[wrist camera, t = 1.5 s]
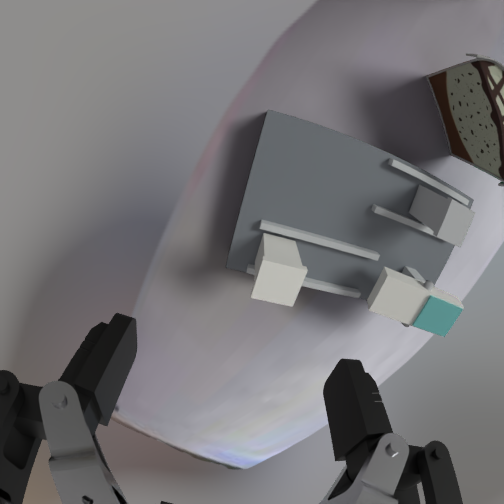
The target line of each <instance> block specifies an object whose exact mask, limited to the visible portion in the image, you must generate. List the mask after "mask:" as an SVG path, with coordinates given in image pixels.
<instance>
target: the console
mask: <svg viewBox="0 0 504 504" xmlns="http://www.w3.org/2000/svg"><path fill="white" fill-rule="evenodd" d="M419 185H421V186H423V187H425V188H427V189H429V190H431V191H433V192H435V193H437V194H439V195H441V196H443V197H444V198H446V199H448V197H449V198H451V199H453V200H455V201H457V202H458V203H460V204H462V205H463V206H465V207H467V208H468V209H470V208H471V206H472V203H473V201H474V200H473V199H472V198H470V197H468V196H467V195H465V194H464V193H462V192H461V191H459V190H457V189H456V188H454V187H452V186H451V185H449V184H447V183H446V182H444V181H442V180H440V179H439V178H437V177H435V176H433V175H431V174H430V173H428V172H426V171H424V170H422V169H420V168H418V167H416V166H414V165H413V164H411V163H409V162H407V161H405V160H402V159H400V158H398V157H396V156H394V155H392V154H390V153H388V152H386V151H383V150H381V149H379V148H377V147H374V146H372V145H370V144H367V143H365V142H363V141H360V140H358V139H355V138H353V137H350V136H348V135H345V134H343V133H340V132H337V131H335V130H332V129H329V128H326V127H323V126H321V125H318V124H315V123H312V122H309V121H306V120H302V119H299V118H296V117H293V116H289V115H286V114H283V113H279V112H276V111H272V110H268V111H267V113H266V117H265V120H264V124H263V127H262V131H261V134H260V138H259V141H258V145H257V148H256V152H255V156H254V159H253V163H252V167H251V170H250V174H249V178H248V181H247V185H246V189H245V193H244V196H243V200H242V204H241V208H240V211H239V215H238V219H237V223H236V227H235V231H234V235H233V239H232V242H231V246H230V250H229V254H228V259H227V264H226V268H230V269H234V270H238V271H242V272H246V273H248V274H252V275H255V259H256V256H257V253H258V250H259V246H260V243H261V240H262V236H263V233H267V234H270V235H274V236H278V237H282V238H286V239H290V240H294V241H296V245H297V248H298V252H299V255H300V259H301V262H302V266H306V267H307V270H308V271H307V274H306V276H305V279H304V281H303V283H302V286H304V287H308V288H313V289H317V290H322V291H326V292H331V293H336V294H340V295H345V296H349V297H354V298H361V299H366V300H367V299H368V297H369V295H370V293H371V292H372V290H373V288H374V286H375V284H376V282H377V280H378V278H379V276H380V274H381V272H382V270H383V268H384V266H385V267H387V268H390V269H392V270H395V271H397V272H399V273H402V274H404V275H407V276H409V277H412V278H414V279H416V280H419V281H421V282H424V283H425V281H426V280H429V281H431V282H432V283H433V284H434V285H435V283H436V281H437V279H438V277H439V276H440V274H441V272H442V270H443V268H444V266H445V264H446V262H447V260H448V258H449V256H450V254H451V252H452V250H453V248H454V246H455V245H454V244H451V243H449V242H447V241H444V240H442V239H440V238H438V237H436V236H435V235H433V233H434V231H433V230H431V229H430V228H429V227H427V226H426V225H425V224H423V223H422V222H421V221H419V220H418V219H417V218H415V217H414V216H413V215H411V214H410V213H409V211H410V208H411V206H412V203H413V200H414V198H415V195H416V193H417V190H418V187H419ZM433 287H434V286H433Z"/></svg>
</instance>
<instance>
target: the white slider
mask: <svg viewBox="0 0 504 504" xmlns="http://www.w3.org/2000/svg"><path fill="white" fill-rule="evenodd" d="M307 271H308V270H307V267H306V266H302V262H301V259H300V255H299V252H298V248H297V245H296V241H294V240H290V239H286V238H282V237H278V236H274V235H270V234H267V233H263V236H262V240H261V243H260V246H259V250H258V253H257V256H256V259H255V275H254V285H253V288H252V291H251V298H255V299H259V300H264V301H268V302H273V303H277V304H282V305H287V306H292V307H293V305H294V302H295V300H296V298H297V295H298V293H299V291H300V288H301V286H302V283H303V281H304V279H305V276H306V274H307Z"/></svg>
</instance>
